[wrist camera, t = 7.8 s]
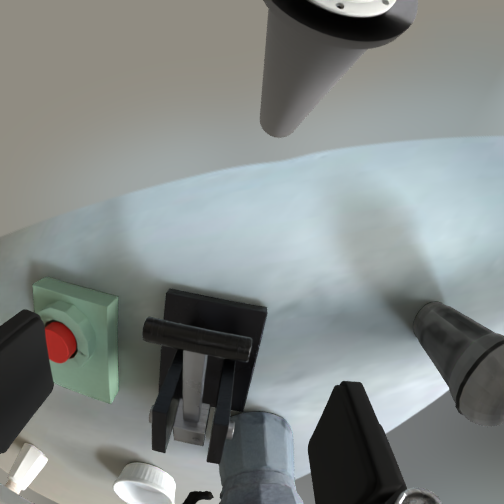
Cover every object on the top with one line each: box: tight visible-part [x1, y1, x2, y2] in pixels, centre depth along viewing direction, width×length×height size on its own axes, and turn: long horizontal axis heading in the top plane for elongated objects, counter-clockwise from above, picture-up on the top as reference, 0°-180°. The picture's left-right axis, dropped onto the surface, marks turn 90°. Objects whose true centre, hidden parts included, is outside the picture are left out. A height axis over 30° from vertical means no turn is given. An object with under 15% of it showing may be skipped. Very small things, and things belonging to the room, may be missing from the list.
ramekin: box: [113, 462, 175, 504], centre depth 33 cm, size 9×9×4 cm
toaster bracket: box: [149, 289, 267, 464], centre depth 24 cm, size 12×9×12 cm
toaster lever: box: [142, 317, 252, 446], centre depth 17 cm, size 12×5×2 cm, turn 169°
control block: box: [33, 277, 119, 404], centre depth 27 cm, size 12×9×4 cm
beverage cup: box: [413, 302, 504, 426], centre depth 19 cm, size 7×7×20 cm
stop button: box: [45, 322, 77, 363], centre depth 24 cm, size 4×4×2 cm
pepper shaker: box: [4, 443, 48, 494], centre depth 30 cm, size 5×5×11 cm
